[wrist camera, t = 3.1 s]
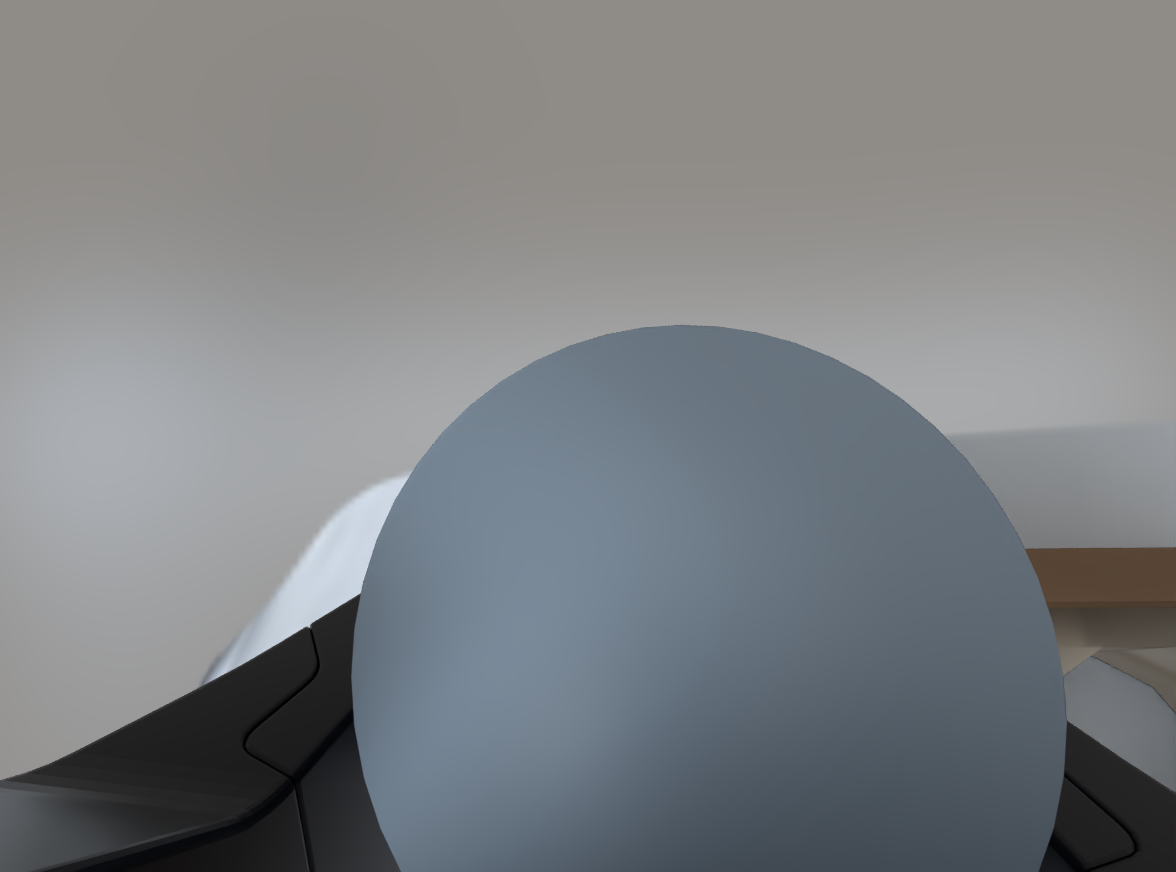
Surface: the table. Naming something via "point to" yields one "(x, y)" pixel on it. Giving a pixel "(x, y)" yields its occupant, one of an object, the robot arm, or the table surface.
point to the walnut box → (1114, 609)
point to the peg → (704, 629)
